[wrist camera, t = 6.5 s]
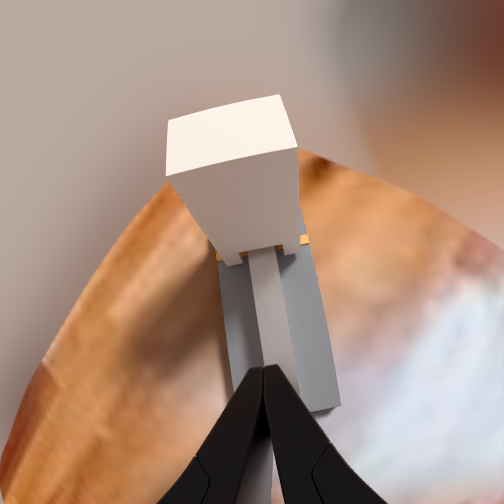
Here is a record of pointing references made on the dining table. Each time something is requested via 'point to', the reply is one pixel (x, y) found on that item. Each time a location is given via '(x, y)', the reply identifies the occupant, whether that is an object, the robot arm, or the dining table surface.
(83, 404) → the dining table surface
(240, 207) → the white cardboard box
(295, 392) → the robot arm
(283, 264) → the board
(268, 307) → the light grey bar
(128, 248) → the dining table surface
